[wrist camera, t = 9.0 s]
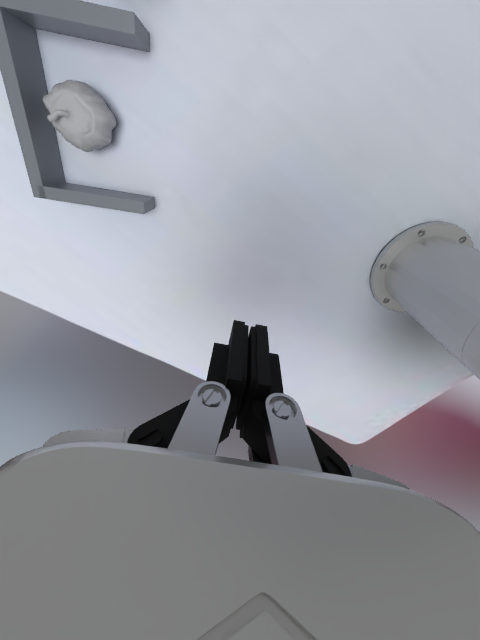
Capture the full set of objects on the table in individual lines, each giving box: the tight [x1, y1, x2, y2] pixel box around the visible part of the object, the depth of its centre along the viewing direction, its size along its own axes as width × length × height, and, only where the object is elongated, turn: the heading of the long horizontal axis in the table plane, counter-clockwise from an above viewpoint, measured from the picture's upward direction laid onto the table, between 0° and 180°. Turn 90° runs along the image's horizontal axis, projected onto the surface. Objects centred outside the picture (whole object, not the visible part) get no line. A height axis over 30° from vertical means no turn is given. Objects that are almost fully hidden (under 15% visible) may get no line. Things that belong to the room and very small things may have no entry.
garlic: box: [43, 80, 116, 152], centre depth 24 cm, size 6×5×5 cm
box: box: [0, 0, 155, 214], centre depth 25 cm, size 11×15×4 cm
